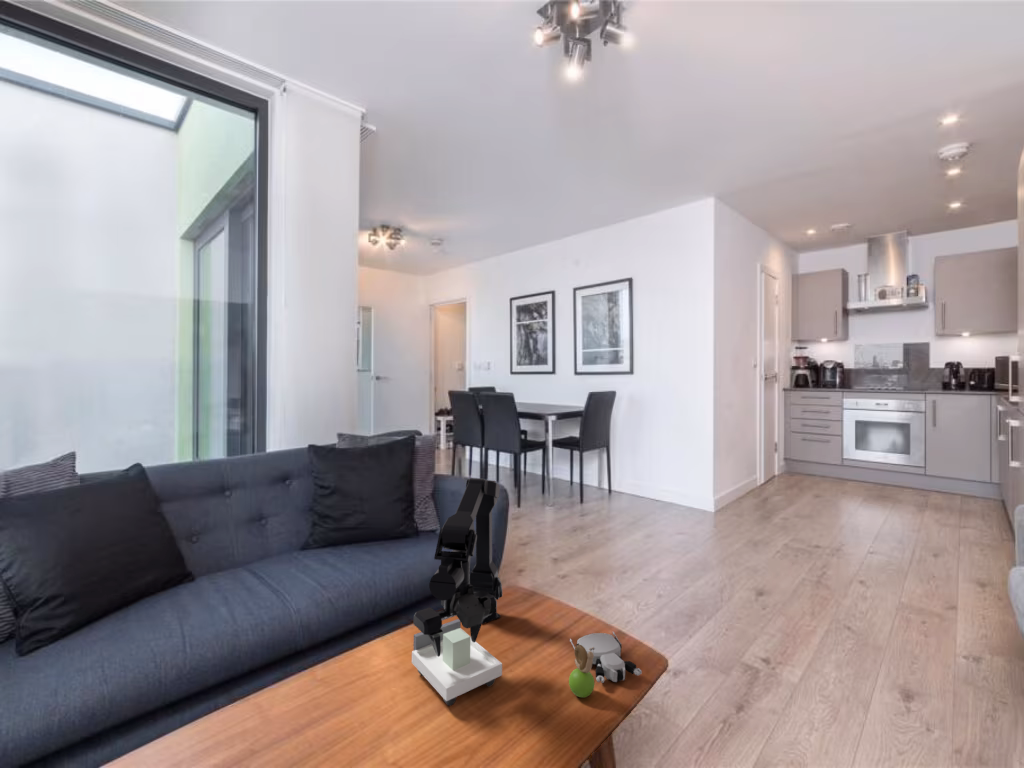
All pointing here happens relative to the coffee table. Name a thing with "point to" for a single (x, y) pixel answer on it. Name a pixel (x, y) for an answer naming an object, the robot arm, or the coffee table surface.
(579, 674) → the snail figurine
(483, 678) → the tray
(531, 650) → the coffee table surface
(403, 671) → the coffee table surface
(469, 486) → the robot arm
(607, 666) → the robot toy
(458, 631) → the part block
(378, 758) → the coffee table surface
